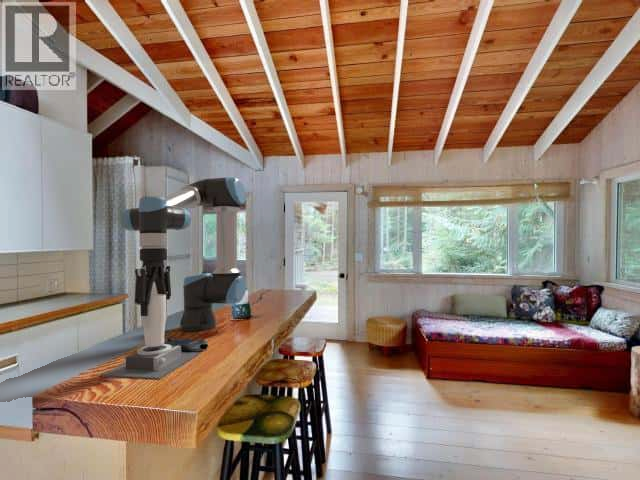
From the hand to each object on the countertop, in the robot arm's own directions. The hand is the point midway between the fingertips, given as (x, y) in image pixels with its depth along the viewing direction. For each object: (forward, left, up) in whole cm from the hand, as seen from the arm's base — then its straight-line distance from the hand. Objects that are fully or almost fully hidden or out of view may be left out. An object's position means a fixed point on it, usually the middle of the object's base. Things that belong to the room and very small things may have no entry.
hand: (154, 323), depth 107 cm
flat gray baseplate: (0, 0, -12) cm, 12 cm away
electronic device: (-16, +1, -13) cm, 20 cm away
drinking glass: (0, 0, -7) cm, 7 cm away
